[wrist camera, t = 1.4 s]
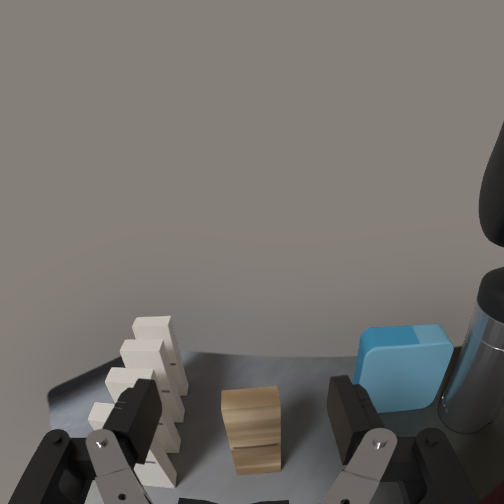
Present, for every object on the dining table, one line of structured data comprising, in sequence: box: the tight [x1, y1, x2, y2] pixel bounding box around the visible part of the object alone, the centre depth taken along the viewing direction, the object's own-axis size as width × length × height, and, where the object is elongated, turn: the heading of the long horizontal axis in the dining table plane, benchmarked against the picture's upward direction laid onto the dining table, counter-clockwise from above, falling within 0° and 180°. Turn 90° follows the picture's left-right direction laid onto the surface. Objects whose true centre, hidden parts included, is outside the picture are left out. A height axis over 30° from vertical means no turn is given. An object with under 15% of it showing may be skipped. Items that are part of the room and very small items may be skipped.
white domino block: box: [120, 339, 185, 422], centre depth 33 cm, size 2×5×13 cm, turn 94°
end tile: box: [132, 316, 189, 396], centre depth 38 cm, size 2×5×13 cm, turn 94°
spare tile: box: [221, 386, 281, 475], centre depth 25 cm, size 2×5×13 cm, turn 94°
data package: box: [352, 324, 454, 413], centre depth 32 cm, size 12×4×12 cm, turn 79°
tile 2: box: [88, 402, 177, 488], centre depth 23 cm, size 2×5×13 cm, turn 94°
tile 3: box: [105, 368, 181, 453], centre depth 28 cm, size 2×5×13 cm, turn 94°
